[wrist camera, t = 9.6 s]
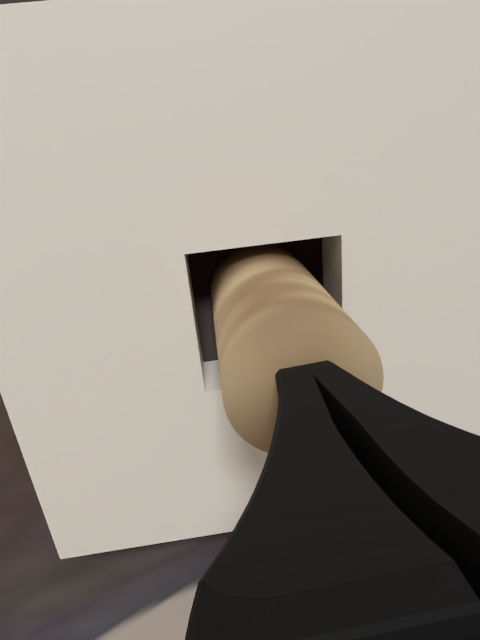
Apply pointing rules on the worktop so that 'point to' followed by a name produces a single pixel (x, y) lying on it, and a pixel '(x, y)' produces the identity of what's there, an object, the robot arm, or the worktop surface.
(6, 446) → the worktop surface
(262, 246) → the maple dowel
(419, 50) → the holder board
